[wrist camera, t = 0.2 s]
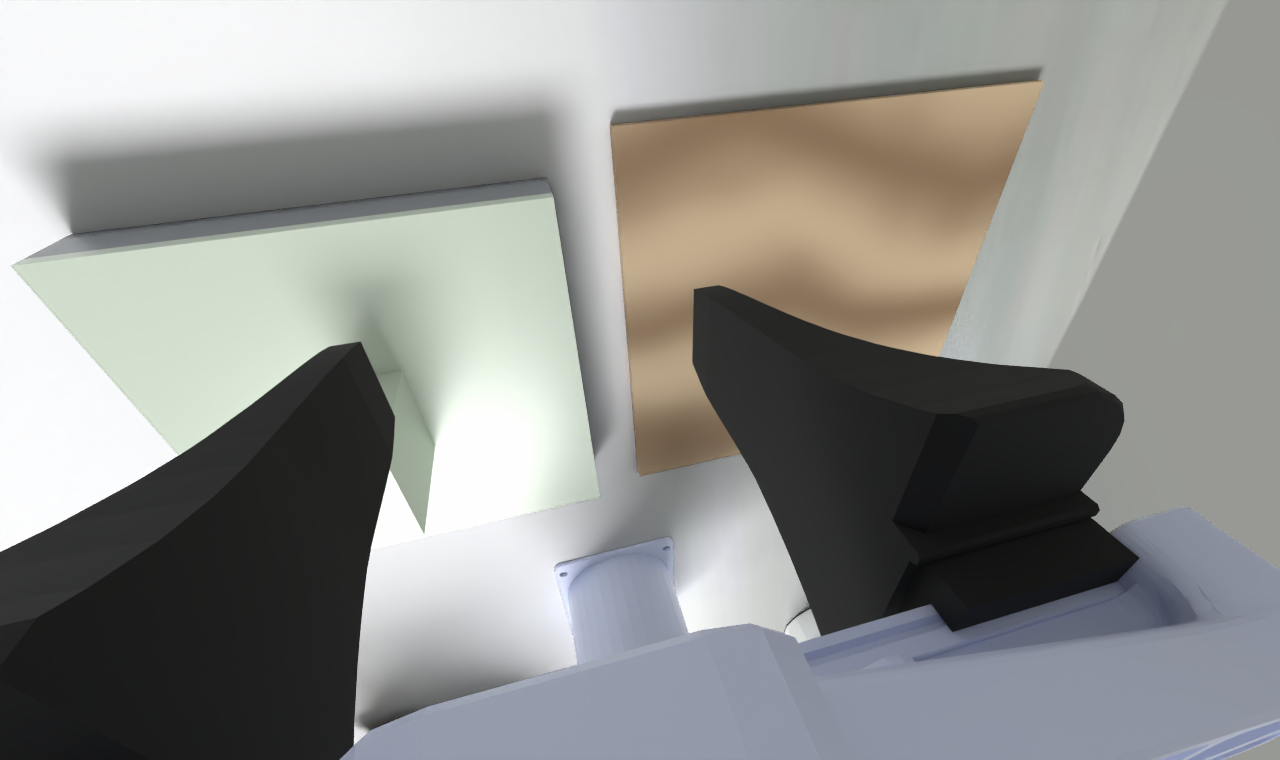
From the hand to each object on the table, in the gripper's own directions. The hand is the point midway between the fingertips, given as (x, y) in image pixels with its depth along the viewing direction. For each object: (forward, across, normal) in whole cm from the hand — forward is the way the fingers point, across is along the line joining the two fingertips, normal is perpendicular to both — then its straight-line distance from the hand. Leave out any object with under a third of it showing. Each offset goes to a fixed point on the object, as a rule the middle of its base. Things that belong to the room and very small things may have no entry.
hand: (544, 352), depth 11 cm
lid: (+8, +6, +6) cm, 12 cm away
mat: (+10, -13, +6) cm, 17 cm away
